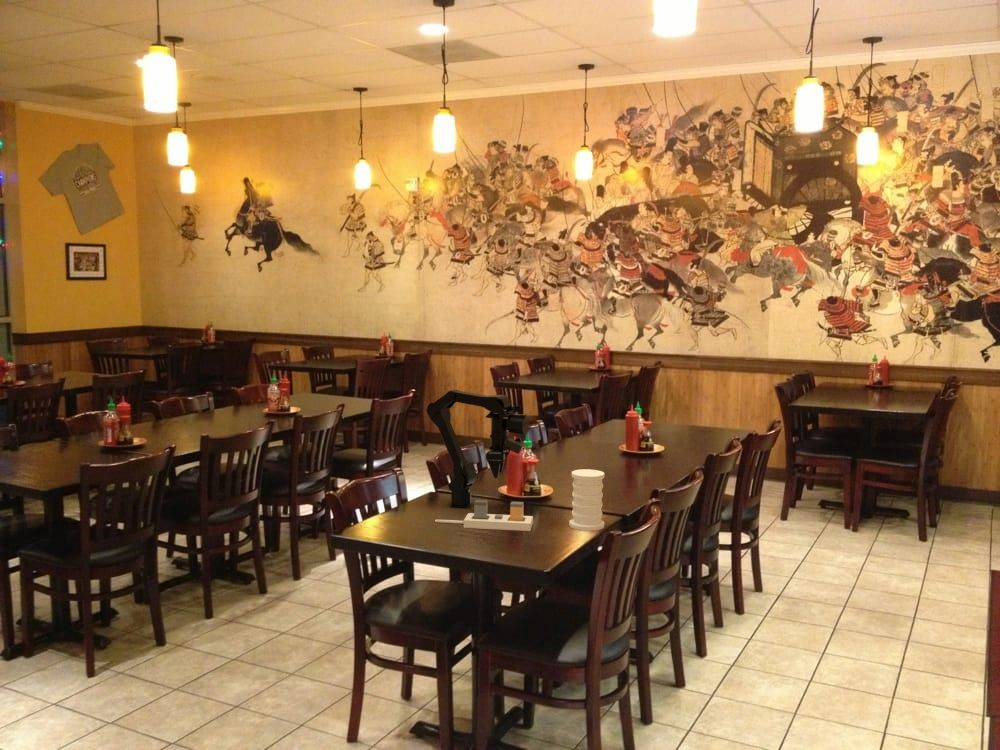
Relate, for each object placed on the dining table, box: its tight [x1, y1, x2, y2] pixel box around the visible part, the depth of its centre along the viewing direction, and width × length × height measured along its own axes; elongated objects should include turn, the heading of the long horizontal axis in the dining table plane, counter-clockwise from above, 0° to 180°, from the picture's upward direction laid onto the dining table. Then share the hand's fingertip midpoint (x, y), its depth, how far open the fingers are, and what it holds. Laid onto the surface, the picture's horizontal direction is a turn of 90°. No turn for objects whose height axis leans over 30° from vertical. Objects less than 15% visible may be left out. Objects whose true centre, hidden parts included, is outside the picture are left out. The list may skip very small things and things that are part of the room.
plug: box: [509, 501, 524, 521], centre depth 292 cm, size 4×3×8 cm
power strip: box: [434, 512, 534, 532], centre depth 293 cm, size 32×9×3 cm, turn 82°
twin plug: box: [473, 499, 489, 520], centre depth 293 cm, size 4×3×8 cm
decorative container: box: [568, 468, 605, 532], centre depth 293 cm, size 12×12×18 cm
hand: (498, 475), depth 310 cm, fingers open, 9 cm apart
